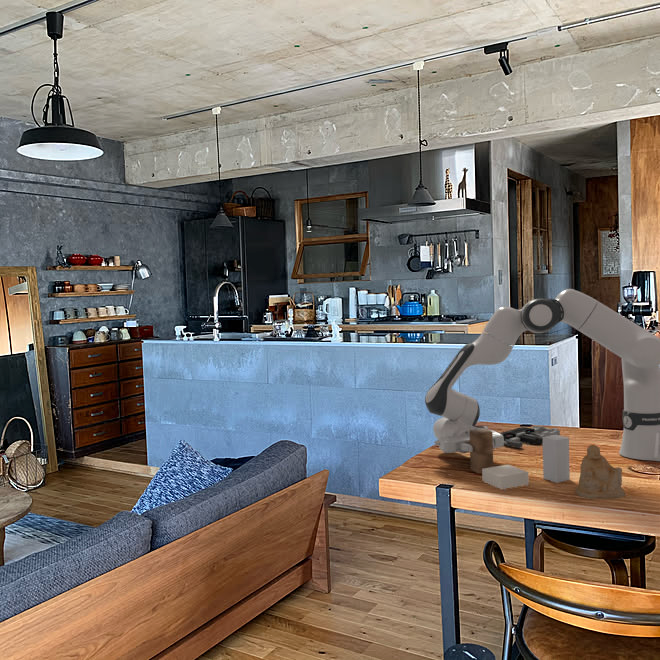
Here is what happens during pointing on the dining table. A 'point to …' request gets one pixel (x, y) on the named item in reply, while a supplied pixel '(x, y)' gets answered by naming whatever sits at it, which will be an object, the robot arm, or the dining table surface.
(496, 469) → the cream base
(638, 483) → the dining table surface
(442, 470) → the dining table surface
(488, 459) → the walnut block
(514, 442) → the toy gun
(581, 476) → the statue
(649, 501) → the dining table surface
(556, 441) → the grey block
